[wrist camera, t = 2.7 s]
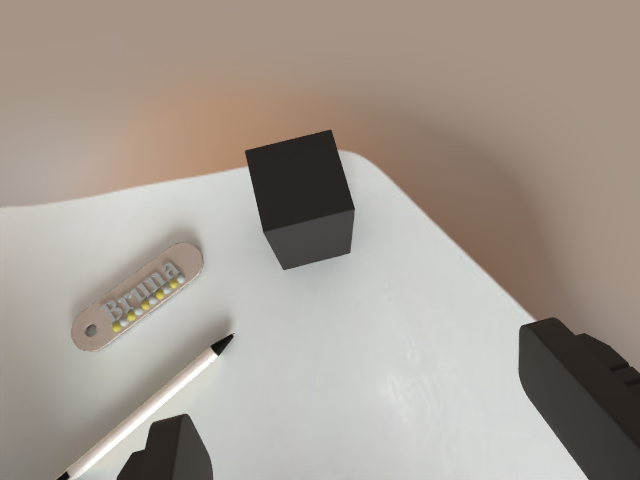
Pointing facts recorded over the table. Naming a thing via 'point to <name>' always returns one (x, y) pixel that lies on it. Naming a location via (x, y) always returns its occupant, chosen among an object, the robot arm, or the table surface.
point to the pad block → (302, 199)
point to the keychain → (137, 296)
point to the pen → (144, 411)
